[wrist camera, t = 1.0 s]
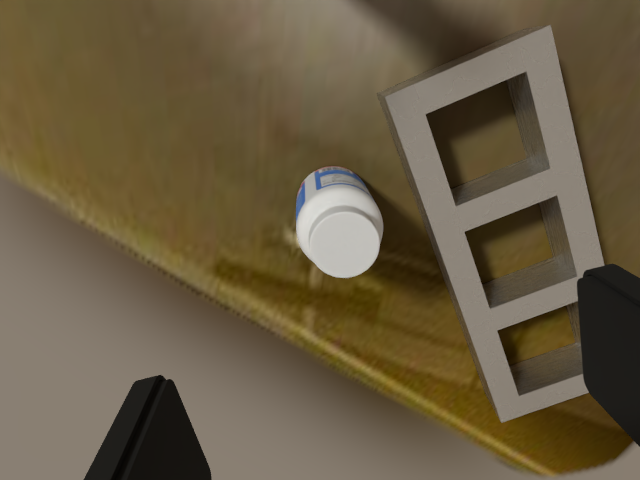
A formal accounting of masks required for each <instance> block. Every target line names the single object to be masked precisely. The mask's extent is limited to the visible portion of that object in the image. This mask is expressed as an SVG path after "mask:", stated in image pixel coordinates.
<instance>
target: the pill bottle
mask: <svg viewBox="0 0 640 480" xmlns="http://www.w3.org/2000/svg"><path fill="white" fill-rule="evenodd" d="M296 232H297V238H298V242H299V244H300V247H301V249H302V250H303V252H304V253H305V255H306V256H307V257H308V258H309V259H310V260H311V261H313V262H314V263H315V264H316V265H317V267H318V268H319V269H321V270H322V271H323V272H325V273H326V274H329V275H331V276H334V277H339V278H349V277H354V276H357V275H359V274H361V273H363V272H364V271H366V270H367V269H369V267H370V266H371V265H372V264H373V263H374V261H375V260H376V258H377V256H378V253H379V248H380V242H381V240H382V235H383V220H382V216H381V213H380V210H379V208H378V206H377V205H376V203H375V201H374V199H373V198H372V196H371V194H370V193H369V191H368V189H367V188H366V186H365V184H364V183H363V181H362V180H361V179H360V177H358V176H357V175H356V174H355V173H354V172H352V171H350V170H348V169H346V168H343V167H337V166H330V167H324V168H321V169H318V170H316V171H314V172H313V173H311V174H310V175H309V176H308V177H307V178H306V179H305V180H304V181H303V183H302V184H301V186H300V188H299V191H298V194H297V200H296Z"/></svg>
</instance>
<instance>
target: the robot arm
mask: <svg viewBox="0 0 640 480" xmlns="http://www.w3.org/2000/svg"><path fill="white" fill-rule="evenodd" d="M577 296H578V310H579V324H580V338H581V353H582V367H583V379H584V383H585V386H586V388H587V390H588V391H589V393H590V394H591V395H592V397H593V398H594V399H595V400H596V401H597V402H598V403H599V404H600V405H601V406H602V407H603V408H604V409H605V410H606V411H607V412H608V414H609V415H610V416H611V417H612V418H613V419H614V420H615V421H616V422H617V423H618V424H619V425H620V426H621V427H622V428H623V429H624V431H625V432H626V433H627V434H628V435H629V436H630V437H631V438H632V439H633V440H634V441H635V442H636V443H637V444H638V445H639V446H640V278H638V277H637V276H635V275H633V274H631V273H630V272H628V271H626V270H624V269H623V268H621V267H619V266H617V265H615V264H609V265H605V266H601V267H597V268H593V269H588V270H586V271H585V272H584V274H583V278H579V279H578V281H577ZM84 480H211V472H210V468H209V465H208V463H207V461H206V458H205V456H204V453H203V451H202V449H201V446H200V444H199V441H198V439H197V437H196V434H195V432H194V429H193V427H192V425H191V422H190V420H189V417H188V415H187V413H186V410H185V408H184V405H183V403H182V400H181V398H180V396H179V393H178V391H177V389H176V386H175V384H174V382H173V381H172V380H171V379H168V380H166V379H165V378H164V377H163V376H161V375H158V376H154V377H150V378H146V379H142V380H138V381H136V382H135V383H134V384H133V385H132V387H131V389H130V391H129V393H128V395H127V397H126V399H125V401H124V403H123V405H122V407H121V409H120V410H119V413H118V414H117V416H116V418H115V420H114V422H113V424H112V426H111V428H110V430H109V432H108V434H107V436H106V438H105V440H104V442H103V443H102V445H101V447H100V449H99V451H98V453H97V455H96V457H95V459H94V461H93V463H92V465H91V467H90V469H89V471H88V472H87V474H86V476H85V478H84Z"/></svg>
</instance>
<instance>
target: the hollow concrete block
mask: <svg viewBox="0 0 640 480" xmlns="http://www.w3.org/2000/svg"><path fill="white" fill-rule="evenodd" d="M505 80H506V82H507V86H508V89H509V93H510V97H511V101H512V104H513V108H514V112H515V116H516V119H517V123H518V127H519V131H520V135H521V138H522V142H523V146H524V150H525V153H526V157H527V158H526V159H524V160H521V161H519V162H516V163H514V164H511V165H509V166H506V167H504V168H501V169H499V170H497V171H494V172H492V173H489V174H487V175H484V176H482V177H479V178H477V179H474V180H472V181H469V182H467V183H465V184H462V185H460V186H457V187H455V188H452V189H450V187H449V184H448V181H447V178H446V175H445V172H444V169H443V166H442V163H441V160H440V157H439V154H438V151H437V148H436V145H435V142H434V139H433V136H432V133H431V130H430V127H429V124H428V121H427V118H426V115H425V114H427V113H430V112H432V111H434V110H437V109H439V108H441V107H444V106H446V105H449V104H451V103H453V102H456V101H458V100H460V99H463V98H465V97H467V96H470V95H472V94H474V93H477V92H479V91H481V90H484V89H486V88H488V87H491V86H493V85H495V84H498V83H500V82H502V81H505ZM377 96H378V98H379V101H380V104H381V107H382V109H383V112H384V115H385V118H386V120H387V123H388V126H389V129H390V131H391V134H392V137H393V140H394V142H395V145H396V148H397V151H398V154H399V156H400V159H401V162H402V165H403V167H404V170H405V173H406V176H407V178H408V181H409V184H410V187H411V189H412V192H413V195H414V198H415V200H416V203H417V206H418V209H419V212H420V214H421V217H422V220H423V223H424V225H425V228H426V231H427V234H428V236H429V239H430V242H431V245H432V247H433V250H434V253H435V256H436V258H437V261H438V264H439V267H440V269H441V272H442V275H443V278H444V281H445V283H446V286H447V289H448V292H449V294H450V297H451V300H452V303H453V305H454V308H455V311H456V314H457V316H458V319H459V322H460V325H461V327H462V330H463V333H464V336H465V339H466V341H467V344H468V347H469V350H470V352H471V355H472V358H473V361H474V363H475V366H476V369H477V372H478V374H479V377H480V380H481V383H482V385H483V388H484V391H485V394H486V396H487V398H488V399H489V401H490V403H491V405H492V407H493V408H494V410H495V412H496V414H497V416H498V418H499V419H500V421H501V423H502V422H505V421H508V420H511V419H514V418H517V417H519V416H522V415H525V414H528V413H531V412H534V411H537V410H540V409H543V408H546V407H548V406H551V405H554V404H557V403H560V402H563V401H566V400H569V399H572V398H575V397H577V396H580V395H583V394H586V393H589V391H588V390H587V388H586V386H585V383H584V379H583V367H582V353H581V338H580V324H579V310H578V296H577V281H578V279H579V278H583V274H584V272H585V271H586V270H588V269H593V268H597V267H601V266H604V261H603V257H602V252H601V248H600V243H599V239H598V234H597V230H596V225H595V221H594V216H593V212H592V207H591V203H590V199H589V194H588V190H587V185H586V181H585V176H584V172H583V167H582V163H581V158H580V154H579V149H578V145H577V141H576V136H575V132H574V127H573V123H572V118H571V114H570V109H569V105H568V100H567V96H566V91H565V87H564V82H563V78H562V74H561V69H560V65H559V60H558V56H557V51H556V47H555V42H554V38H553V33H552V29H551V25H547V26H540V27H534V28H527V29H523V30H521V31H518V32H516V33H514V34H512V35H509V36H507V37H505V38H502V39H500V40H498V41H496V42H493V43H491V44H489V45H486V46H484V47H482V48H480V49H477V50H475V51H473V52H470V53H468V54H466V55H463V56H461V57H459V58H457V59H454V60H452V61H450V62H447V63H445V64H443V65H441V66H438V67H436V68H434V69H431V70H429V71H427V72H425V73H422V74H420V75H418V76H415V77H413V78H411V79H408V80H406V81H404V82H402V83H399V84H397V85H395V86H392V87H390V88H388V89H386V90H383V91H381V92H379V93H377ZM536 203H539V206H540V210H541V214H542V218H543V221H544V225H545V229H546V233H547V236H548V240H549V244H550V248H551V251H552V255H553V258H550V259H547V260H545V261H542V262H539V263H537V264H534V265H532V266H529V267H526V268H524V269H521V270H518V271H516V272H513V273H511V274H508V275H505V276H503V277H500V278H497V279H495V280H492V281H489V282H487V283H484V284H482V283H481V280H480V277H479V274H478V271H477V268H476V265H475V262H474V259H473V256H472V253H471V250H470V247H469V244H468V241H467V238H466V235H465V231H468V230H470V229H473V228H475V227H478V226H481V225H483V224H486V223H488V222H491V221H493V220H496V219H498V218H501V217H503V216H506V215H508V214H511V213H514V212H516V211H519V210H521V209H524V208H526V207H529V206H531V205H534V204H536ZM565 305H566V308H567V312H568V316H569V319H570V323H571V327H572V331H573V334H574V338H575V343H573V344H570V345H567V346H564V347H561V348H559V349H556V350H553V351H550V352H548V353H545V354H542V355H539V356H536V357H534V358H531V359H528V360H525V361H522V362H520V363H517V364H514V365H511V366H509V365H508V362H507V359H506V356H505V353H504V350H503V347H502V344H501V341H500V338H499V335H498V332H497V330H500V329H503V328H505V327H508V326H511V325H514V324H516V323H519V322H522V321H524V320H527V319H530V318H533V317H535V316H538V315H541V314H544V313H546V312H549V311H552V310H554V309H557V308H560V307H563V306H565Z"/></svg>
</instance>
